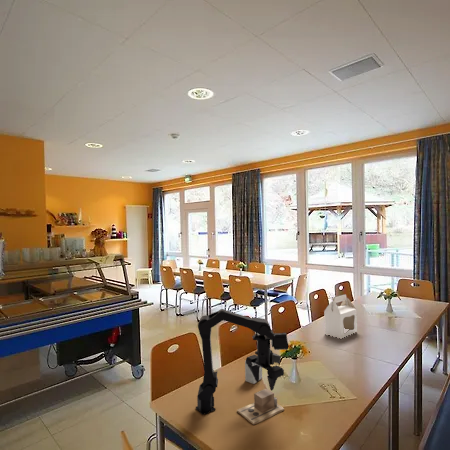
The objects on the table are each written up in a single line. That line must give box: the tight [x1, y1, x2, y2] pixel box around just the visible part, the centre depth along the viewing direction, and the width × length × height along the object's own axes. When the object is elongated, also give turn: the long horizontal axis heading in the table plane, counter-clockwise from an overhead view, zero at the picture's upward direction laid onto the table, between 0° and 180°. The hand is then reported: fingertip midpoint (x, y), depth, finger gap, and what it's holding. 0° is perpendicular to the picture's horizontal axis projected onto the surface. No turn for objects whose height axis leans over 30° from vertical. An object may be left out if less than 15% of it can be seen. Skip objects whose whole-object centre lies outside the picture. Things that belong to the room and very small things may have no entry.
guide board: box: [236, 396, 285, 426], centre depth 132 cm, size 17×11×4 cm, turn 125°
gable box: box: [323, 294, 358, 340], centre depth 228 cm, size 22×13×28 cm, turn 129°
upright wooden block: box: [253, 388, 275, 413], centre depth 133 cm, size 7×5×6 cm
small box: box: [244, 360, 263, 385], centre depth 160 cm, size 8×6×10 cm
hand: (264, 385), depth 134 cm, fingers open, 9 cm apart
